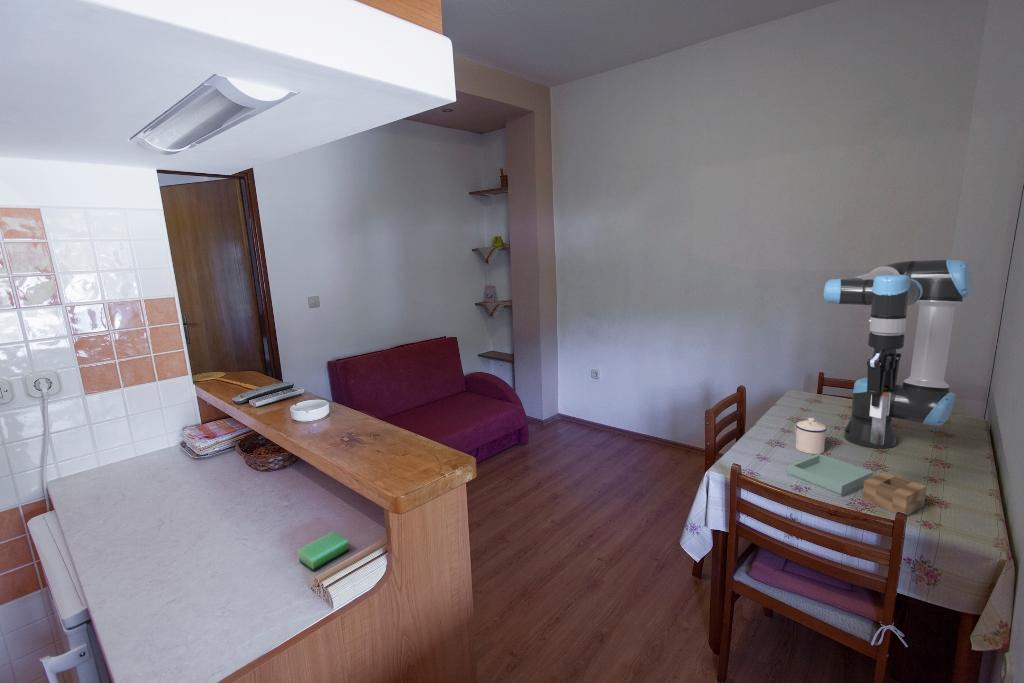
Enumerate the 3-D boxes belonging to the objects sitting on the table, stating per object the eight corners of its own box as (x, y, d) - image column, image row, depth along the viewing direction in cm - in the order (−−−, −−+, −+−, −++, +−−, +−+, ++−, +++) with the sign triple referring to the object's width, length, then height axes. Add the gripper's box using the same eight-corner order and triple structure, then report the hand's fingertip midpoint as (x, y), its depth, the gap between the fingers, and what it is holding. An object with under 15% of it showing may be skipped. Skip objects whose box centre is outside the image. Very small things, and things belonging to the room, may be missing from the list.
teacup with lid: (831, 453, 161) (833, 421, 159) (806, 456, 160) (808, 424, 158) (806, 440, 173) (808, 410, 171) (783, 442, 172) (785, 412, 170)
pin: (873, 439, 133) (877, 389, 130) (885, 442, 130) (890, 391, 127) (868, 442, 132) (872, 391, 129) (880, 445, 129) (885, 393, 126)
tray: (817, 463, 155) (818, 453, 154) (871, 482, 140) (872, 472, 140) (786, 475, 148) (787, 465, 147) (841, 497, 133) (841, 486, 133)
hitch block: (881, 491, 136) (883, 471, 134) (923, 506, 127) (926, 486, 126) (862, 500, 131) (864, 480, 130) (904, 517, 122) (906, 496, 121)
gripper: (885, 327, 132) (878, 406, 136) (855, 335, 125) (848, 418, 129) (917, 330, 125) (909, 412, 130) (888, 338, 118) (880, 426, 122)
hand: (879, 415), depth 129 cm, fingers closed on pin, 3 cm apart
